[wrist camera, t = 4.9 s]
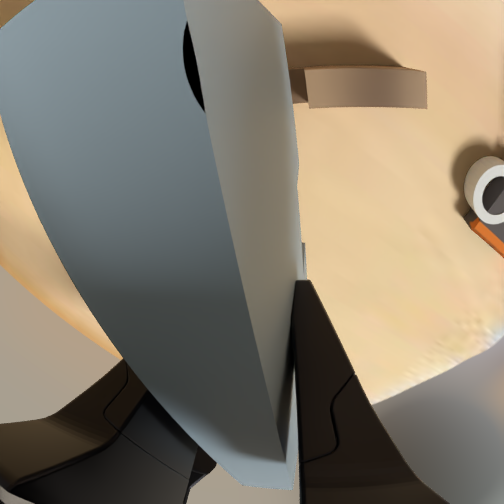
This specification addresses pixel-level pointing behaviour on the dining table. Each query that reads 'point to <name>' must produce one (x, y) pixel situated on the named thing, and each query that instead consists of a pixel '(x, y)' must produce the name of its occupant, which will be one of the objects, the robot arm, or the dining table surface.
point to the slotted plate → (172, 202)
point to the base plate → (358, 86)
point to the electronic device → (486, 201)
